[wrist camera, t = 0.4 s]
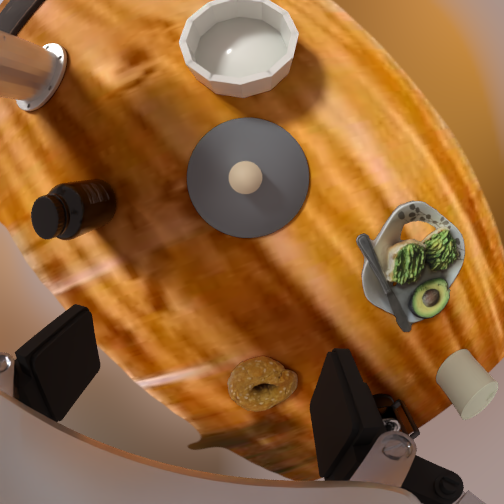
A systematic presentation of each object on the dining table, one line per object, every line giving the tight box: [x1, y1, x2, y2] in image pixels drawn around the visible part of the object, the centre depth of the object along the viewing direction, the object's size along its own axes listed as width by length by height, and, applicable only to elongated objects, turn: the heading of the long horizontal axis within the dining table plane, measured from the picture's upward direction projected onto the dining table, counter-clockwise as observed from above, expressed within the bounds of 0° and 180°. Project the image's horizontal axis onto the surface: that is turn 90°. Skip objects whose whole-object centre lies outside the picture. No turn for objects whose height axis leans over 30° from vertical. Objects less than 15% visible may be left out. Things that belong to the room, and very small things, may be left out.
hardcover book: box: [0, 0, 44, 36], centre depth 22 cm, size 16×23×2 cm
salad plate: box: [356, 201, 465, 332], centre depth 34 cm, size 19×18×5 cm
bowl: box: [179, 0, 299, 98], centre depth 26 cm, size 13×13×6 cm
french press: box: [372, 394, 420, 439], centre depth 33 cm, size 12×9×23 cm
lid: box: [187, 118, 309, 238], centre depth 31 cm, size 15×15×5 cm
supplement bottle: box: [31, 179, 116, 240], centre depth 29 cm, size 7×7×12 cm
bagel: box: [228, 356, 298, 412], centre depth 39 cm, size 10×11×5 cm
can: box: [436, 349, 498, 420], centre depth 35 cm, size 9×9×12 cm
